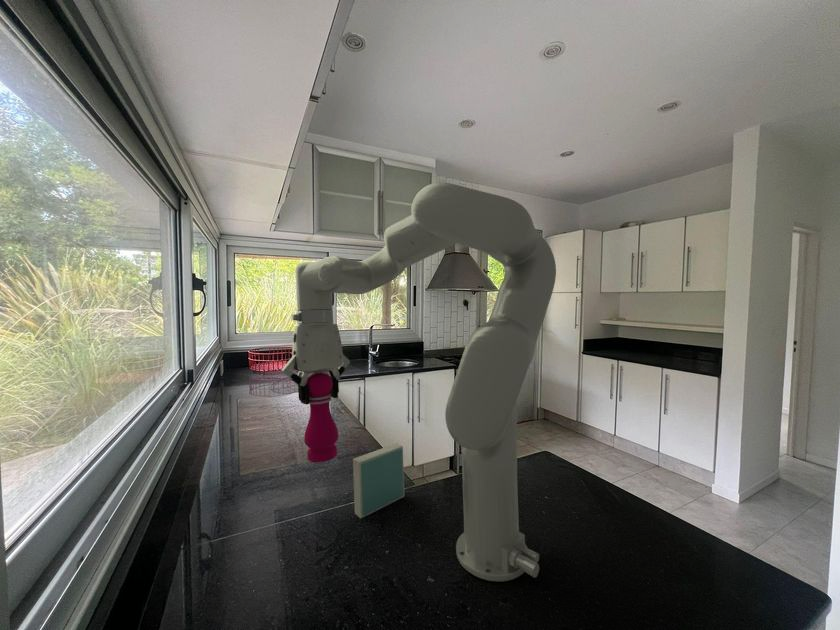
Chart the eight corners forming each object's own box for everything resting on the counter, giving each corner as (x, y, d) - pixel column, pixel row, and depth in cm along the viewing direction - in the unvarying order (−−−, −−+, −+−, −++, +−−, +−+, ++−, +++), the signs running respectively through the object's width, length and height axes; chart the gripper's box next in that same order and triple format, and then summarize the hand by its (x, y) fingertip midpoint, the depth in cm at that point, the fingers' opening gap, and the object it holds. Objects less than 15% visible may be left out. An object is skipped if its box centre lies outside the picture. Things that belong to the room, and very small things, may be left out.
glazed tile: (405, 497, 78) (403, 446, 78) (361, 519, 70) (359, 462, 70) (397, 492, 80) (396, 443, 80) (354, 513, 72) (352, 458, 72)
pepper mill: (297, 460, 71) (293, 368, 72) (322, 448, 78) (317, 363, 78) (322, 466, 68) (317, 369, 68) (346, 452, 74) (341, 363, 75)
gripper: (281, 319, 65) (286, 412, 65) (358, 316, 76) (362, 394, 76) (269, 321, 70) (273, 405, 70) (342, 317, 82) (346, 390, 82)
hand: (319, 399), depth 73 cm, fingers closed on pepper mill, 6 cm apart
